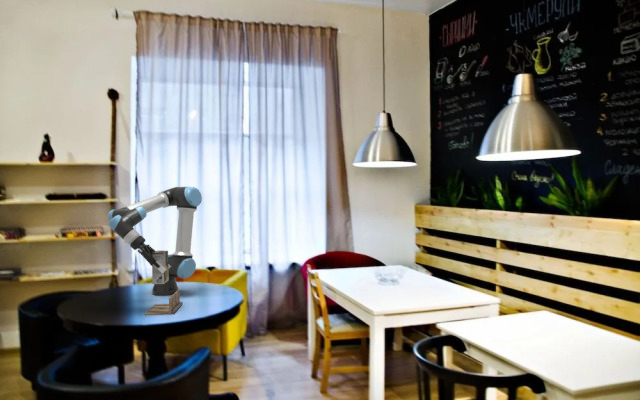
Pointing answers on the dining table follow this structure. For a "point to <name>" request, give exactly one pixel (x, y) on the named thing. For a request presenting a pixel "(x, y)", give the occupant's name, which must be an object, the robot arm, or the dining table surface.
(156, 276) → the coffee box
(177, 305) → the hinge bracket
